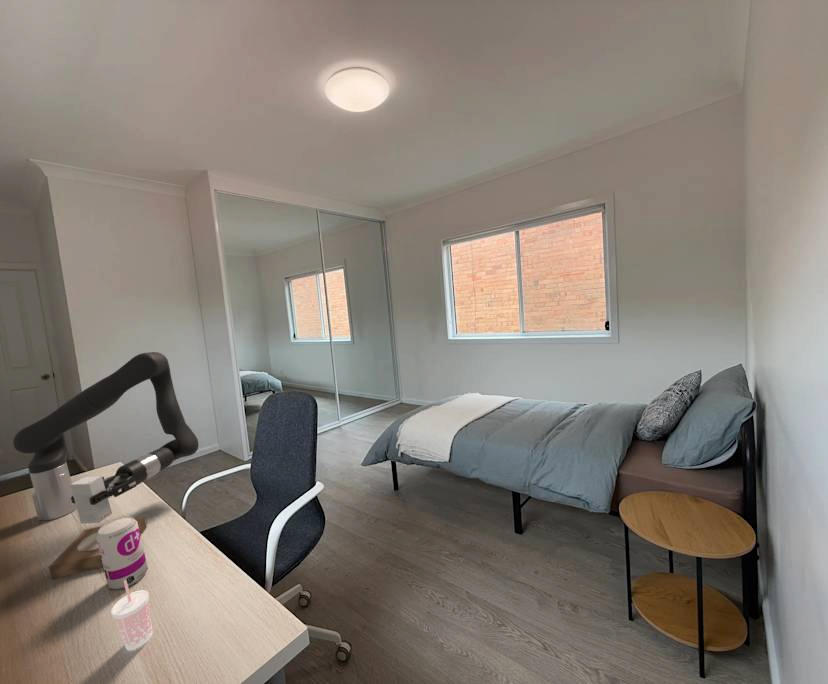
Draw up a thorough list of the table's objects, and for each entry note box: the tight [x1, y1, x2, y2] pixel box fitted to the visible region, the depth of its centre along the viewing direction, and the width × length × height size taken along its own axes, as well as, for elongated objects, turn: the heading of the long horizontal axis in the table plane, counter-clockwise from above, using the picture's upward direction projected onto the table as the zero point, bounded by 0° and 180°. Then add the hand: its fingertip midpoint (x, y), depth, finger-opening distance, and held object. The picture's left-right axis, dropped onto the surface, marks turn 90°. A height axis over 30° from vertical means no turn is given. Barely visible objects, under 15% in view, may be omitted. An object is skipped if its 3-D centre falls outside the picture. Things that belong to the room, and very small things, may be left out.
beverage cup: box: [111, 580, 154, 651], centre depth 76 cm, size 6×6×14 cm
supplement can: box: [97, 516, 149, 590], centre depth 94 cm, size 8×8×15 cm
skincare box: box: [70, 475, 113, 525], centre depth 105 cm, size 6×4×12 cm
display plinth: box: [48, 516, 148, 580], centre depth 107 cm, size 16×16×4 cm
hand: (81, 501), depth 103 cm, fingers closed on skincare box, 6 cm apart
